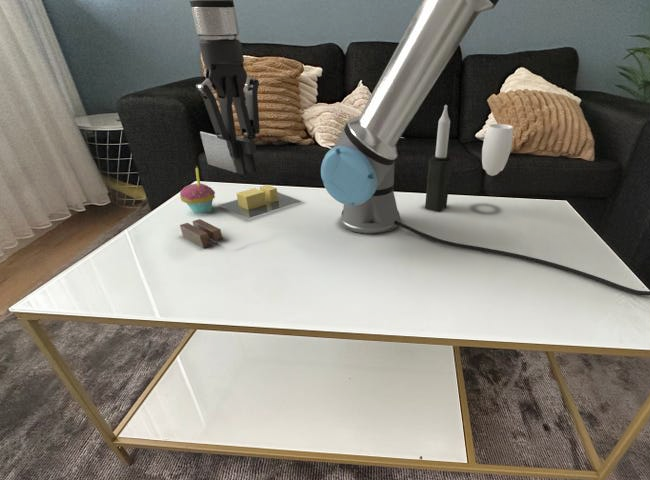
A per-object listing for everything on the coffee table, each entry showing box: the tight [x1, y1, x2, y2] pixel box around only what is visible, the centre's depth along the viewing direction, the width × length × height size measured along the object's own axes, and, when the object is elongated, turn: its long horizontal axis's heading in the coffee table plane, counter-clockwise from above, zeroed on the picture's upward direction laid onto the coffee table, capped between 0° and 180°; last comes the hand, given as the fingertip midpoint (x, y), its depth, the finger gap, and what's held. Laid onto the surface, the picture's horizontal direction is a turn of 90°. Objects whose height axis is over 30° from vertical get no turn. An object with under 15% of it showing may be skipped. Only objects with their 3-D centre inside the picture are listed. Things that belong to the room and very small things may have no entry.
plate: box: [218, 191, 302, 219], centre depth 114 cm, size 14×18×1 cm
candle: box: [424, 104, 453, 212], centre depth 107 cm, size 5×5×25 cm
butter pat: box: [259, 184, 278, 203], centre depth 115 cm, size 4×2×4 cm, turn 49°
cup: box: [481, 123, 514, 177], centre depth 108 cm, size 7×7×21 cm
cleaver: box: [199, 131, 258, 174], centre depth 91 cm, size 19×2×8 cm, turn 51°
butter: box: [235, 187, 267, 210], centre depth 111 cm, size 4×6×4 cm
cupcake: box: [179, 167, 216, 214], centre depth 106 cm, size 9×8×12 cm
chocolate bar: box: [179, 218, 223, 249], centre depth 95 cm, size 9×5×3 cm, turn 49°
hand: (246, 172), depth 91 cm, fingers closed on cleaver, 2 cm apart
